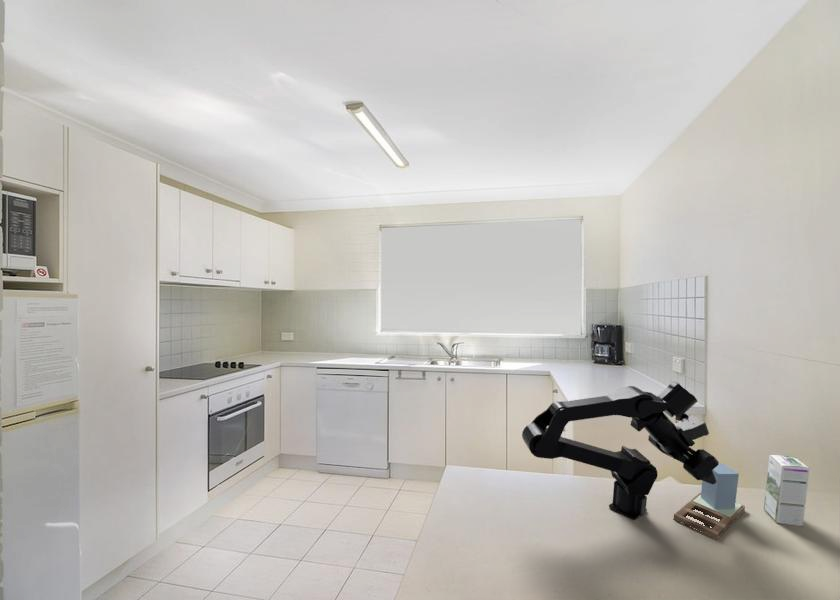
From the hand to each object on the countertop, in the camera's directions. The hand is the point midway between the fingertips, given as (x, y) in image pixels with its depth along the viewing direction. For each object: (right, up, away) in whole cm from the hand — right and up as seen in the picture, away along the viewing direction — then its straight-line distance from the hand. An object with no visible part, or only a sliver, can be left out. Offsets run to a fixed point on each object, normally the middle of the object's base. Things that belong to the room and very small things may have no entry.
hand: (701, 473), depth 108 cm
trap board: (+1, -10, -1) cm, 10 cm away
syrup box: (+18, -10, -2) cm, 21 cm away
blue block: (+5, -8, +1) cm, 9 cm away
